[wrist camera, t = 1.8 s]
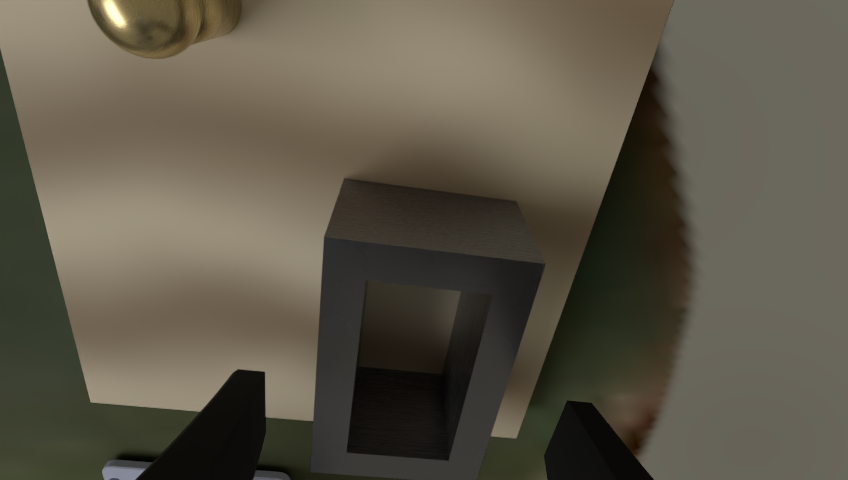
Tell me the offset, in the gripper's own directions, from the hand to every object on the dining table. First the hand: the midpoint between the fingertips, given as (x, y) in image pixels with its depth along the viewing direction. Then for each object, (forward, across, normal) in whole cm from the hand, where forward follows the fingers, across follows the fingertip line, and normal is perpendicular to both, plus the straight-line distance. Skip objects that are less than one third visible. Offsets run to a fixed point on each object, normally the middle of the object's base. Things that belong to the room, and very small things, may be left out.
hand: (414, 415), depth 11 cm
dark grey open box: (+5, 0, 0) cm, 5 cm away
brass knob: (+5, +6, -8) cm, 11 cm away
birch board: (+6, +3, -4) cm, 8 cm away
